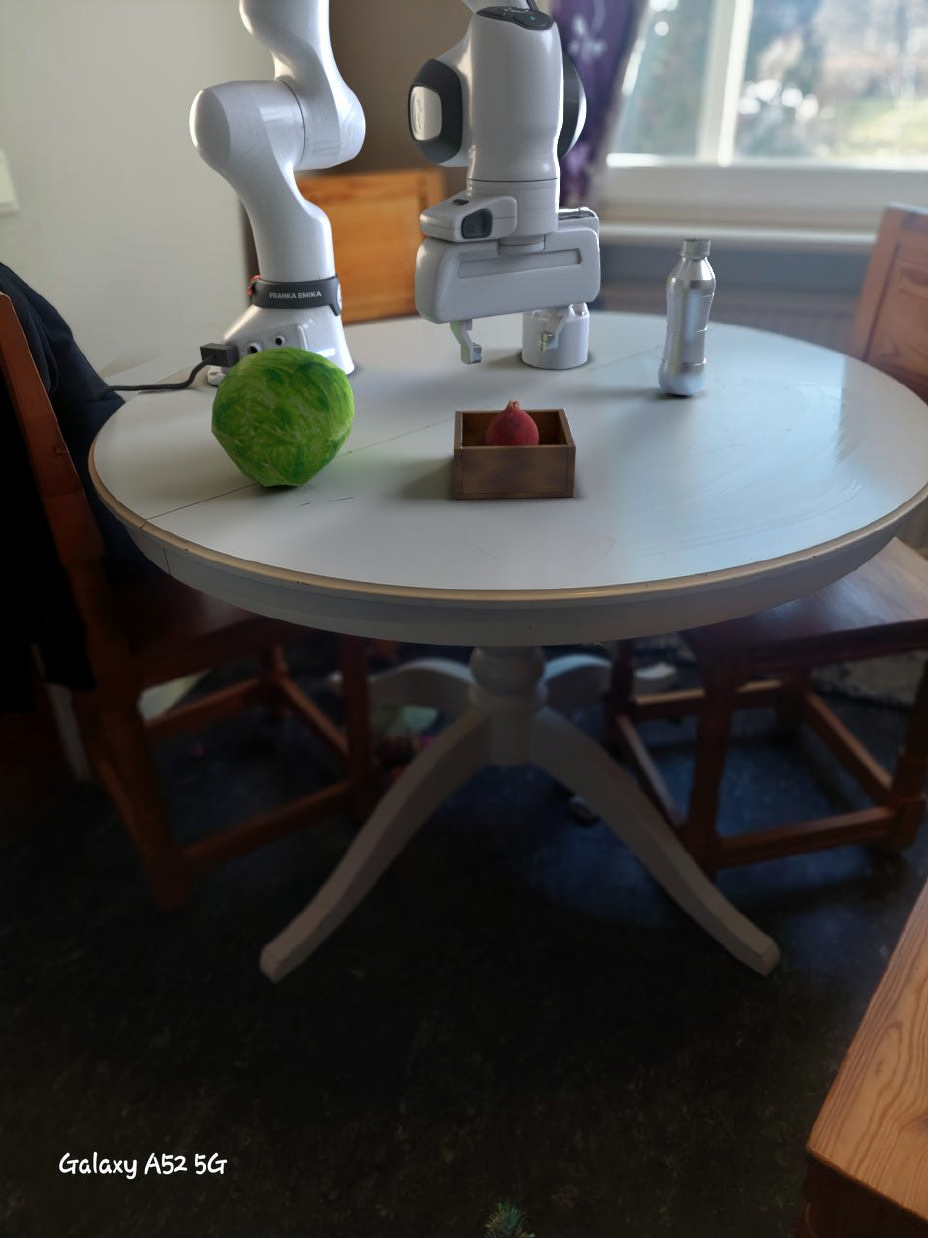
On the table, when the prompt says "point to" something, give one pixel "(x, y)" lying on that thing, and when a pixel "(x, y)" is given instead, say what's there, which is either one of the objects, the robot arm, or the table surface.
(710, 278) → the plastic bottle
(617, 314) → the table surface
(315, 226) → the robot arm
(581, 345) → the lumpy-topped squat cylinder
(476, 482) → the brown bin
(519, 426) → the onion
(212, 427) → the lettuce
